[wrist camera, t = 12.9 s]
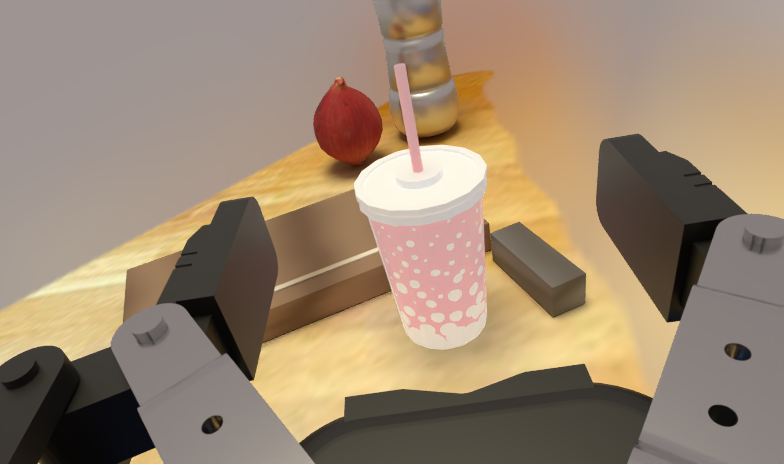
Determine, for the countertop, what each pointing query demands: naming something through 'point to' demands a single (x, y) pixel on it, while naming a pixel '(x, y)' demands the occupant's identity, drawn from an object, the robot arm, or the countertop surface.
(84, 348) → the countertop surface
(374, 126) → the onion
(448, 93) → the plastic bottle
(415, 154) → the beverage cup
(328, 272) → the walnut board
